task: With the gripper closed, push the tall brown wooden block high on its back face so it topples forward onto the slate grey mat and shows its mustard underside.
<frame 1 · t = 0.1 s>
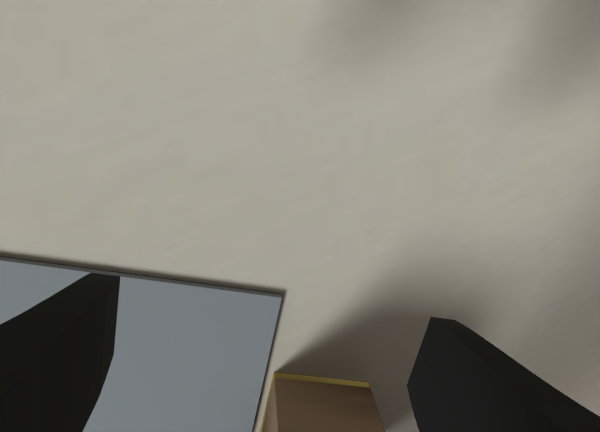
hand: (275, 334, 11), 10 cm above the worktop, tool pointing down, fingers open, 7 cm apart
grey mat: (115, 398, 23), on the worktop
brown wooden block: (311, 415, 25), on the worktop
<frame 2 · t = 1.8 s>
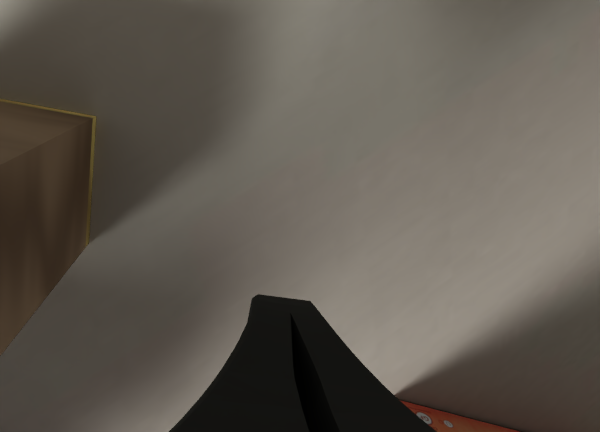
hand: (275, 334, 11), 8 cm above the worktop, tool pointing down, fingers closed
brown wooden block: (20, 171, 17), on the worktop
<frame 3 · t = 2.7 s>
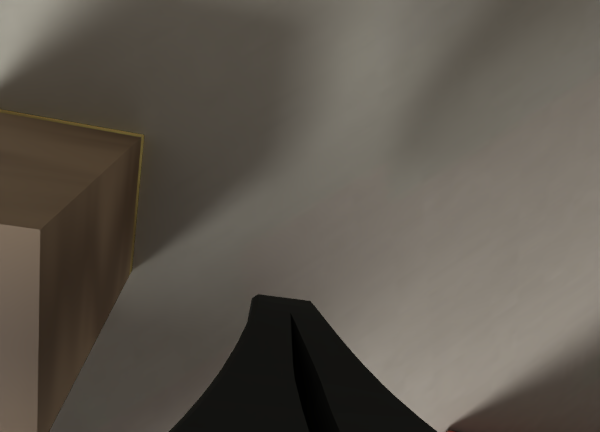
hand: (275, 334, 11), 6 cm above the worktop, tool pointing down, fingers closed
brown wooden block: (60, 194, 16), on the worktop
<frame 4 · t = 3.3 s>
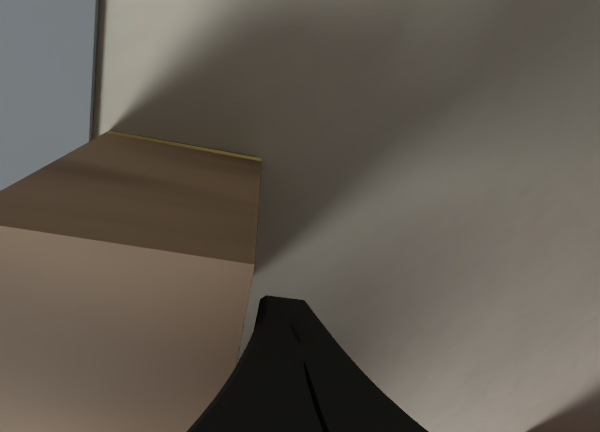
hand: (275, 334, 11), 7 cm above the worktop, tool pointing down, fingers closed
brown wooden block: (178, 214, 16), on the worktop, touching gripper
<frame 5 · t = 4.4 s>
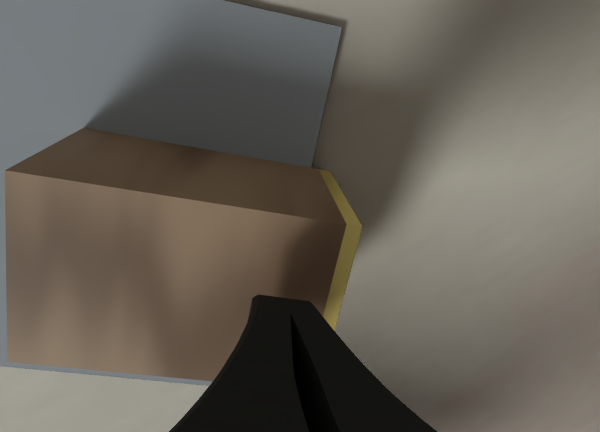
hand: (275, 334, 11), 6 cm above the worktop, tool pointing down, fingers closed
grey mat: (93, 200, 16), on the worktop
brown wooden block: (324, 269, 14), point 3 cm above the worktop, tilted 90°, touching grey mat
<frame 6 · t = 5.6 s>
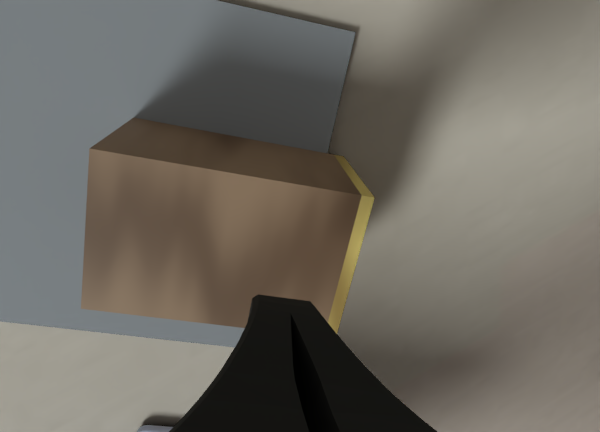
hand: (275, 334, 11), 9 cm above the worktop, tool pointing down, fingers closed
grey mat: (139, 181, 18), on the worktop
brown wooden block: (339, 239, 17), point 3 cm above the worktop, tilted 90°, touching grey mat
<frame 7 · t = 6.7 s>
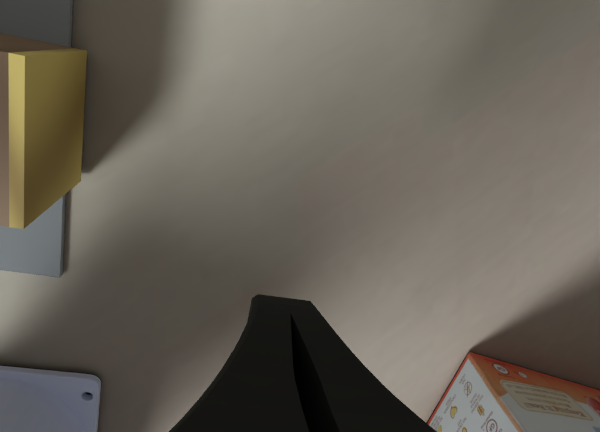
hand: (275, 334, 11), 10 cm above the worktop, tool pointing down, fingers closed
cracker box: (546, 412, 26), on the worktop
brown wooden block: (58, 131, 15), point 3 cm above the worktop, tilted 90°, touching grey mat
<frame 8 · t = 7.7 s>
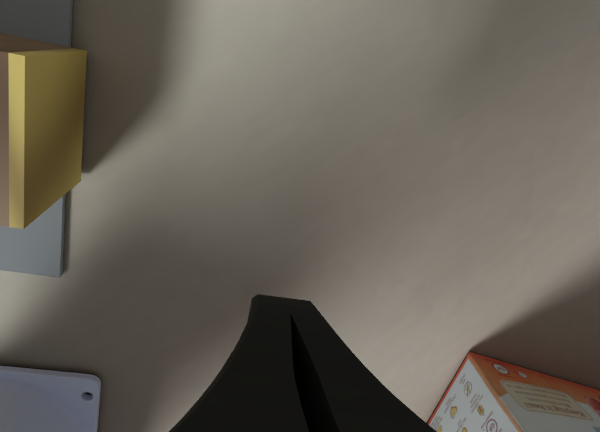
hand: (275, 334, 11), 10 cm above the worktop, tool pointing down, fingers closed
cracker box: (546, 412, 26), on the worktop
brown wooden block: (58, 131, 15), point 3 cm above the worktop, tilted 90°, touching grey mat
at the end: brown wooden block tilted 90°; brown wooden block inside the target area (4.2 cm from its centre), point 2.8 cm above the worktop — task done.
